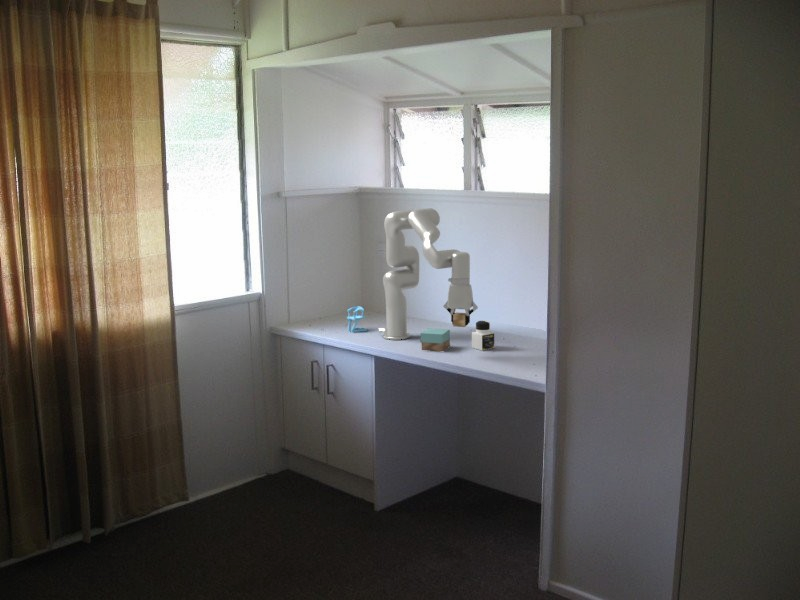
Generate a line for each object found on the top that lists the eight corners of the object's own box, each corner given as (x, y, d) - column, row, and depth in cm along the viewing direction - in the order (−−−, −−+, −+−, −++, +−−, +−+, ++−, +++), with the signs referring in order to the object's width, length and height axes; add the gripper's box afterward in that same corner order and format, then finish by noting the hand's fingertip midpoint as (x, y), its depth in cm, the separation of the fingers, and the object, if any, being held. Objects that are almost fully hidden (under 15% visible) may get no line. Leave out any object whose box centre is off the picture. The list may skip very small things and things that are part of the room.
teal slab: (420, 342, 365) (420, 333, 364) (428, 337, 374) (428, 328, 373) (442, 343, 361) (442, 334, 360) (449, 338, 370) (449, 329, 369)
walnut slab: (421, 351, 365) (421, 342, 365) (428, 345, 375) (428, 337, 374) (443, 352, 362) (443, 343, 361) (449, 347, 371) (449, 338, 371)
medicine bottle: (482, 350, 361) (482, 323, 359) (471, 348, 367) (471, 321, 365) (494, 348, 366) (494, 321, 363) (483, 345, 371) (483, 319, 369)
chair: (344, 331, 408) (343, 307, 406) (358, 328, 413) (357, 304, 411) (353, 333, 402) (352, 309, 400) (368, 330, 407) (366, 306, 405)
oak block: (453, 326, 352) (453, 314, 351) (456, 323, 357) (456, 312, 356) (464, 327, 350) (464, 315, 349) (467, 324, 355) (467, 313, 354)
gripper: (438, 282, 349) (438, 324, 353) (478, 284, 344) (478, 327, 347) (443, 279, 356) (443, 320, 359) (482, 281, 350) (482, 323, 354)
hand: (460, 323), depth 353 cm, fingers closed on oak block, 4 cm apart
